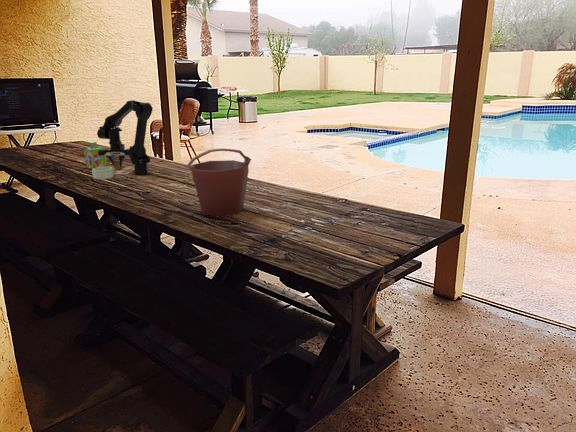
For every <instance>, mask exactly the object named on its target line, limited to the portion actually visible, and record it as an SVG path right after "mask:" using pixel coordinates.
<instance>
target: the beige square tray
mask: <svg viewBox="0 0 576 432" xmlns="http://www.w3.org/2000/svg"><path fill="white" fill-rule="evenodd" d="M112 169H113V175H124V174H123V173H128V172H129V171H131V170H133V169H134V167H123V166H122V167H120V161H119V162H116V161H115V163H114V166H113V167H112ZM133 171H134V170H133ZM131 172H132V171H131ZM128 174H129V173H128Z"/></svg>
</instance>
